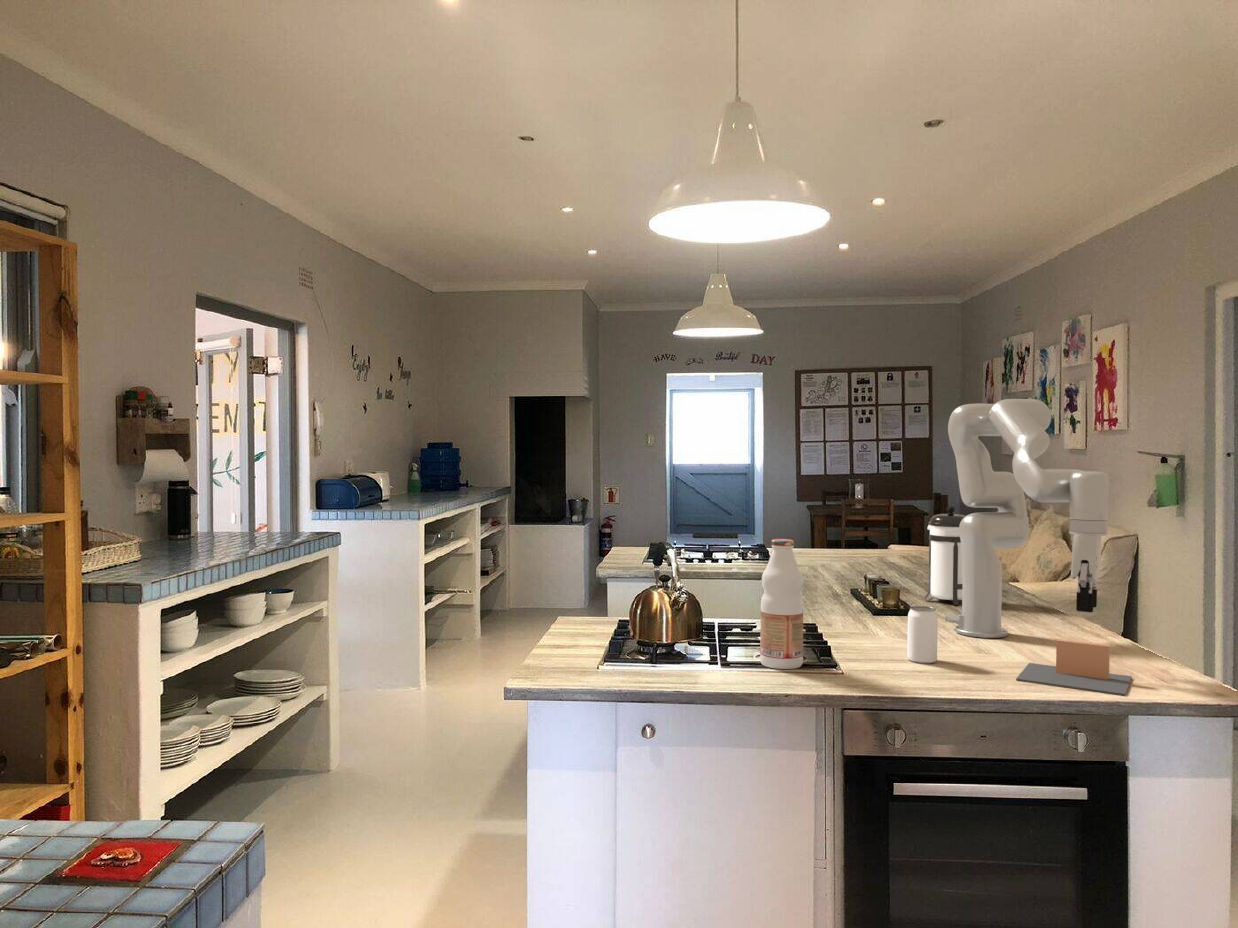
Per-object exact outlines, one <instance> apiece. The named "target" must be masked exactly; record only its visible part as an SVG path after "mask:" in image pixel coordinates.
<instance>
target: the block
mask: <svg viewBox="0 0 1238 928" xmlns="http://www.w3.org/2000/svg"><path fill="white" fill-rule="evenodd" d="M1055 650H1056V651H1055V655H1056V657H1055V658H1056V659H1055V666H1056V673H1061V674H1069V675H1076V676H1084V677H1091V678H1099V679H1106V680H1109V674H1110V669H1111V667H1110V666H1111V660H1110V659H1111V644H1103V643H1095V642H1094V643H1092V642H1085V641H1077V640H1070V639H1069V640H1068V639H1060V638H1059V639H1058V638H1057V639H1056V649H1055Z"/></svg>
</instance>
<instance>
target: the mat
mask: <svg viewBox="0 0 1238 928" xmlns="http://www.w3.org/2000/svg"><path fill="white" fill-rule="evenodd" d="M1015 680H1016V681H1017V682H1024V683H1032V684H1040V685H1045V686H1046V685H1047V686H1053V687H1060V688H1069V689H1075V690H1081V691H1087V692H1088V691H1089V692H1096V693H1101V694H1107V695H1108V694H1109V695H1114V696H1115V695H1117V696H1124V697H1126V696H1127V692H1128V689H1129V687H1130V684H1131V681H1132V675H1125V674H1117V673H1110V674H1109V680H1106V679H1099V678H1091V677H1084V676H1076V675H1069V674H1061V673H1056V665H1049V664H1042V663H1041V664H1040V663H1034V662H1029V663H1028V664H1027V665H1026V666H1025V668H1024V669H1023V670H1022V671H1021V672H1020V673H1019V674H1018V676H1017V677H1016V679H1015Z"/></svg>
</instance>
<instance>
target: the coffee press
mask: <svg viewBox="0 0 1238 928" xmlns="http://www.w3.org/2000/svg"><path fill="white" fill-rule="evenodd" d="M946 512H947V513H940V514H935V515H933V516H931V518H930V521H928V526H927V530H928V531H929V535H928V540H929V542H928V588H927V590H928V591H927V593H926V595H925V596H924V601H925V602H928V603H929V602H931V600H933V599H938V600H939V599H940V600H947V601H948V600H949V601H951V603H952V606H955V607H958V606H959V601H962V586H963V556H962V546H961V540H960V535H959V525H960V522H961V521H962V519H963V518H964V517H965V516H966V515H964V514H959V513H958V514H956V513H954V512H955V507H954V506H952V505H949V506H948V507H947V508H946ZM929 595H930V596H931V597H930V598H929V599H928V600H927V598H928V596H929Z"/></svg>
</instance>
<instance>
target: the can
mask: <svg viewBox="0 0 1238 928" xmlns="http://www.w3.org/2000/svg"><path fill="white" fill-rule="evenodd" d="M938 624H939V621H938V614H937V611H936V608H935V607H932V606H925V605H923V606H922V605H913V606H910V607H909V611H908V614H907V637H906V638H907V639H906V640H907V641H906V642H907V648H906V649H907V650H906V652H907V655H906V656H907V659H908V661H910V662H912V663H915V664H924V665H926V664H929V665H930V664H935V663H936V662H937V661H938V633H939V632H938V626H939V625H938Z"/></svg>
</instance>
